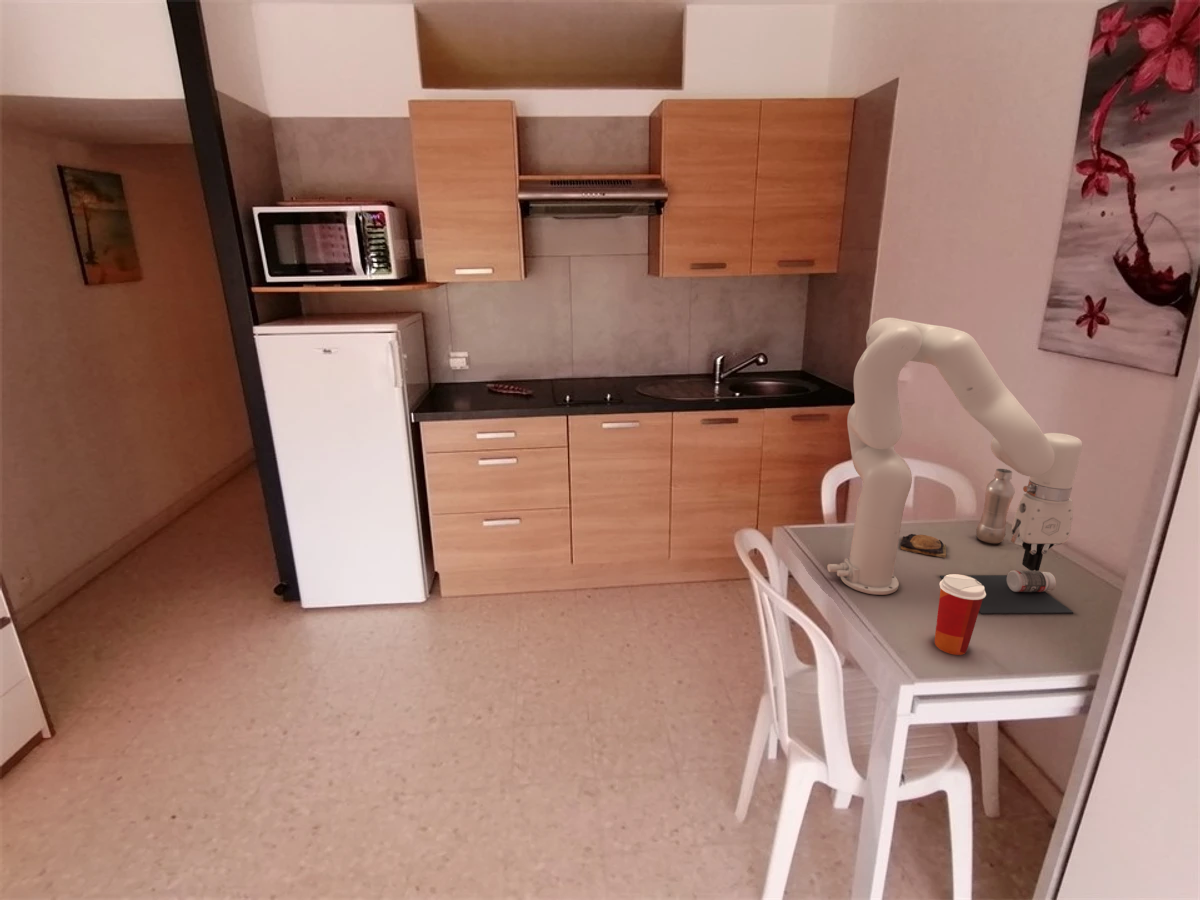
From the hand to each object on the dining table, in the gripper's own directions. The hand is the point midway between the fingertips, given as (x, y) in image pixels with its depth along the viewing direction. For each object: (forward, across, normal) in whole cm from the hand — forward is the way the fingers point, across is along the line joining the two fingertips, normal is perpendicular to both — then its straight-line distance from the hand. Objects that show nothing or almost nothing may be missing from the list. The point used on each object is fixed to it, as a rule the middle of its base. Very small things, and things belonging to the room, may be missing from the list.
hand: (1030, 567), depth 136 cm
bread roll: (+7, -11, +23) cm, 26 cm away
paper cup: (+7, -28, -19) cm, 34 cm away
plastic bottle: (+7, +9, +27) cm, 29 cm away
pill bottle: (+4, -3, +1) cm, 5 cm away
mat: (+7, -5, 0) cm, 8 cm away
